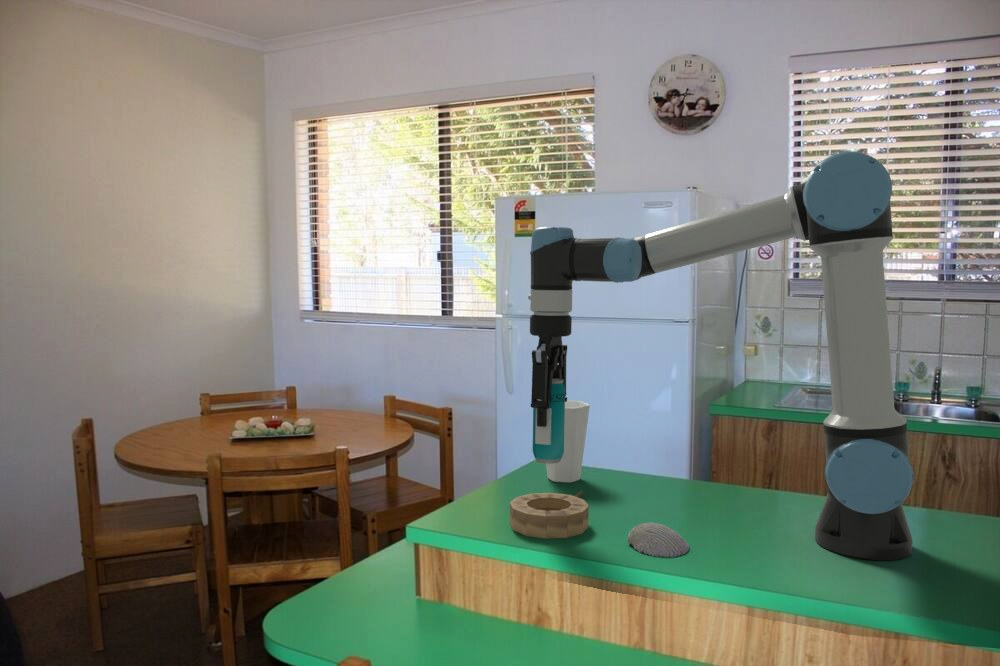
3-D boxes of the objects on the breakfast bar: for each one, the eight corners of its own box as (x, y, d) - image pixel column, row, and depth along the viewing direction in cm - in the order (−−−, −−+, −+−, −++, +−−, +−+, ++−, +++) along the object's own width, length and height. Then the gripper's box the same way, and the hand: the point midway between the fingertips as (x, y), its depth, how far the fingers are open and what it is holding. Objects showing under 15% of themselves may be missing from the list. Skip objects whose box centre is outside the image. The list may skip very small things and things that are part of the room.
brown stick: (582, 494, 161) (582, 492, 161) (562, 514, 148) (562, 511, 148) (578, 494, 162) (578, 491, 162) (558, 513, 149) (558, 510, 149)
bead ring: (595, 518, 146) (595, 498, 145) (574, 542, 133) (574, 519, 133) (526, 509, 151) (526, 489, 151) (499, 532, 138) (499, 510, 138)
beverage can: (570, 461, 140) (571, 380, 139) (545, 466, 137) (546, 382, 136) (550, 455, 145) (552, 376, 144) (526, 459, 142) (527, 378, 141)
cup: (590, 474, 178) (591, 401, 177) (586, 486, 168) (587, 408, 167) (542, 471, 180) (542, 399, 179) (536, 483, 170) (536, 406, 169)
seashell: (624, 518, 137) (681, 509, 135) (631, 548, 137) (687, 539, 136) (624, 536, 127) (685, 527, 125) (631, 568, 127) (692, 559, 125)
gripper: (547, 310, 149) (545, 428, 151) (512, 315, 132) (511, 449, 133) (585, 311, 146) (582, 432, 148) (554, 317, 129) (552, 453, 131)
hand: (548, 440), depth 141 cm, fingers closed on beverage can, 6 cm apart
